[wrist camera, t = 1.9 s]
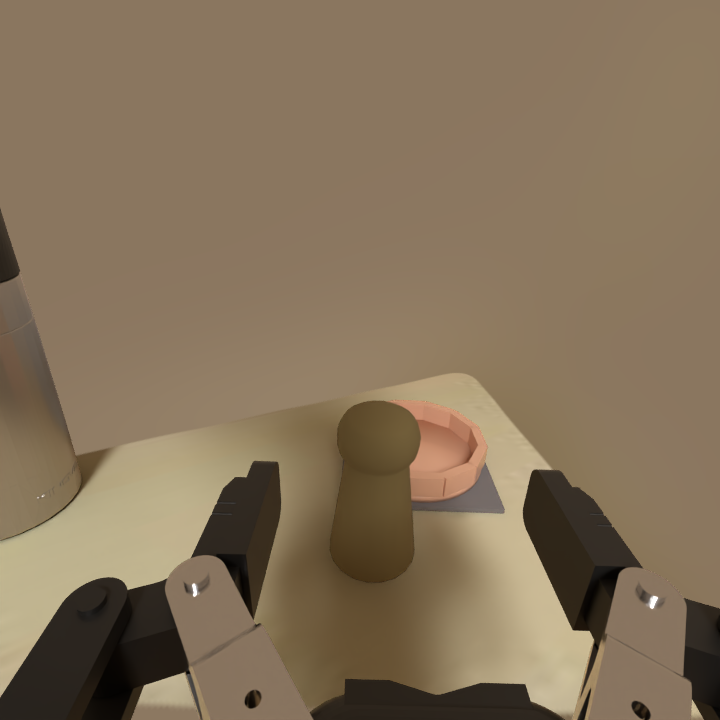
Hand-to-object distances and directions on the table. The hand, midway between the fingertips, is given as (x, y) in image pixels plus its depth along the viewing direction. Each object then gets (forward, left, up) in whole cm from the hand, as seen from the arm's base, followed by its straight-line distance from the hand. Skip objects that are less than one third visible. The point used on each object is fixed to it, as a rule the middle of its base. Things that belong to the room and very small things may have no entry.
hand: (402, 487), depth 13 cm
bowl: (+4, +21, -15) cm, 26 cm away
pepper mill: (0, +11, -15) cm, 19 cm away
